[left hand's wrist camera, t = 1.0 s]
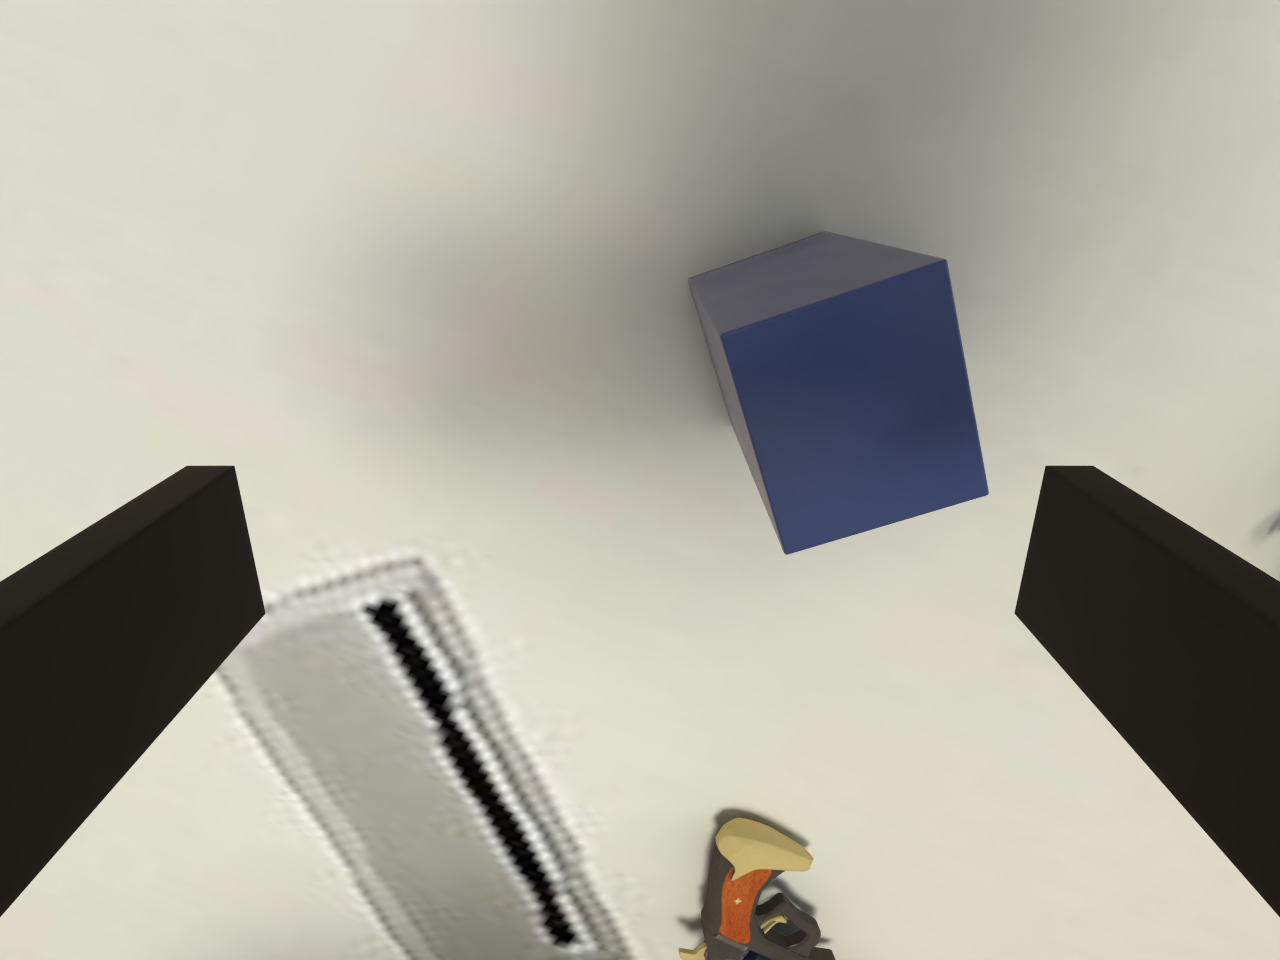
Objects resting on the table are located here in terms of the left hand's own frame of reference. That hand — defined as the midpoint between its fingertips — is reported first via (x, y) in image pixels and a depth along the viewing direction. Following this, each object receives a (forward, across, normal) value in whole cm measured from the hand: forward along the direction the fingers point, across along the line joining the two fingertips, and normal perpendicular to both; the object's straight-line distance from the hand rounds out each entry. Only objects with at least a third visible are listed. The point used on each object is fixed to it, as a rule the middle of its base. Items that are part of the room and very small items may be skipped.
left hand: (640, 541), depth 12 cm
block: (+19, +6, 0) cm, 20 cm away
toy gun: (+19, +9, -33) cm, 39 cm away
